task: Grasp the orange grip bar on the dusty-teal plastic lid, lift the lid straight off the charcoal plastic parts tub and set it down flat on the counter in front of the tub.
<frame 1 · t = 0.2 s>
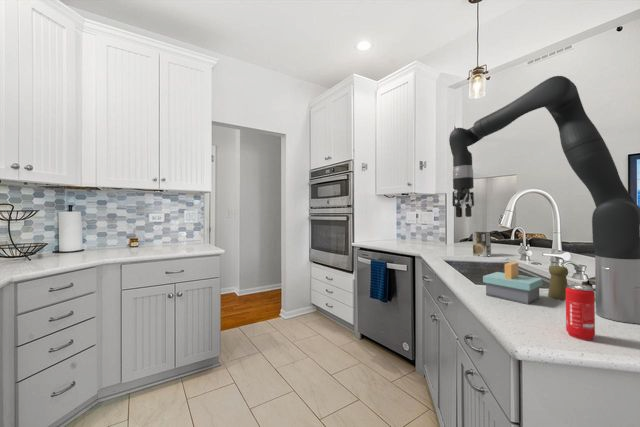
hand: (463, 216, 116), 28 cm above the countertop, tool pointing down, fingers open, 8 cm apart
tub: (512, 296, 100), on the countertop
coffee box: (481, 256, 190), on the countertop
lid: (511, 280, 100), point 6 cm above the countertop, touching tub
beverage can: (580, 337, 69), on the countertop
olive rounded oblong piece: (558, 297, 99), on the countertop
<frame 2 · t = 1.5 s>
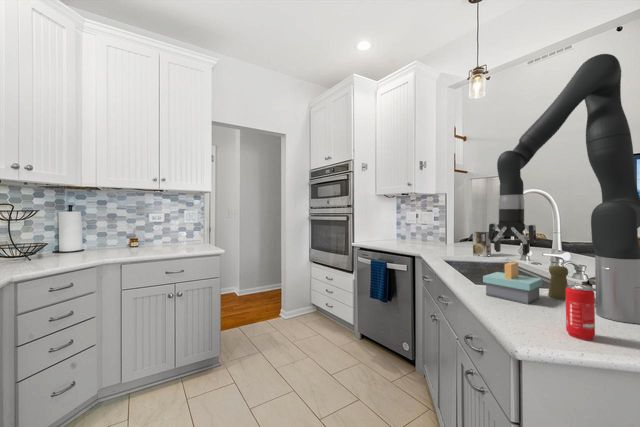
hand: (511, 253, 100), 16 cm above the countertop, tool pointing down, fingers open, 8 cm apart
nothing on the countertop moved.
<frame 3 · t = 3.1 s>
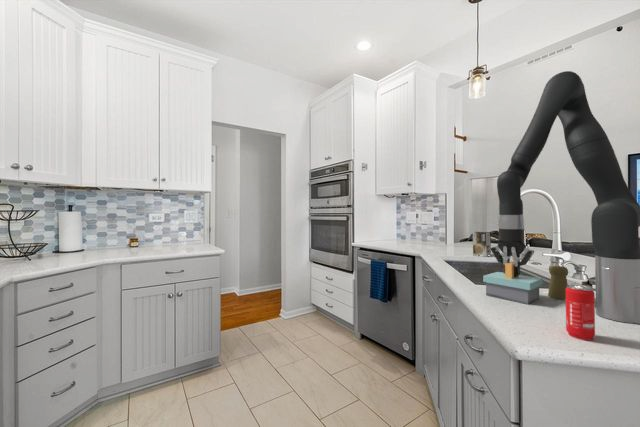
hand: (511, 275, 100), 8 cm above the countertop, tool pointing down, fingers closed on lid
lid: (512, 279, 100), point 6 cm above the countertop, touching gripper
everything else where it was.
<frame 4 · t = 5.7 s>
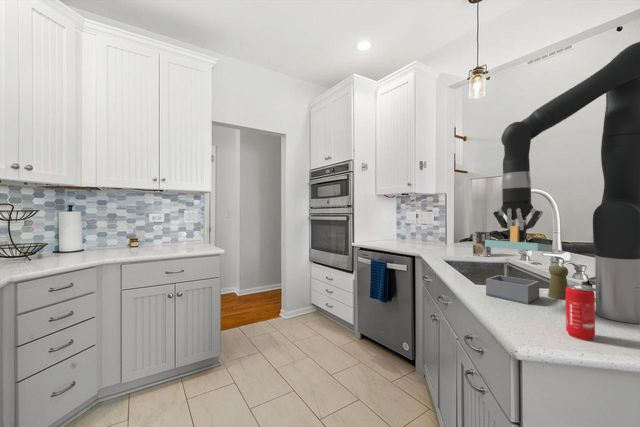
hand: (517, 241, 90), 21 cm above the countertop, tool pointing down, fingers closed on lid
lid: (517, 245, 90), point 20 cm above the countertop, tilted 7°, touching gripper
everything else where it was.
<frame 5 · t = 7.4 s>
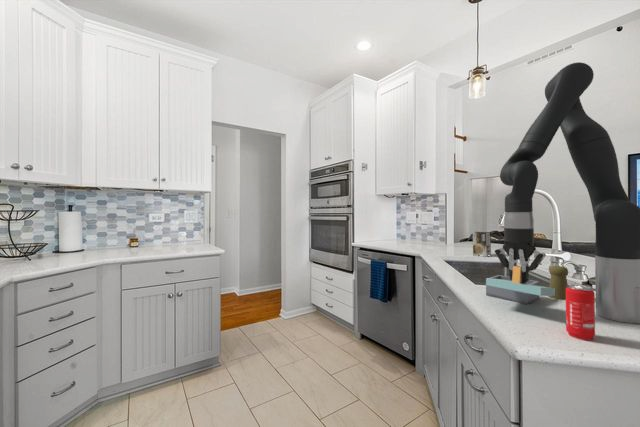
hand: (519, 282, 87), 9 cm above the countertop, tool pointing down, fingers closed on lid
lid: (519, 286, 87), point 7 cm above the countertop, tilted 11°, touching gripper
everything else where it was.
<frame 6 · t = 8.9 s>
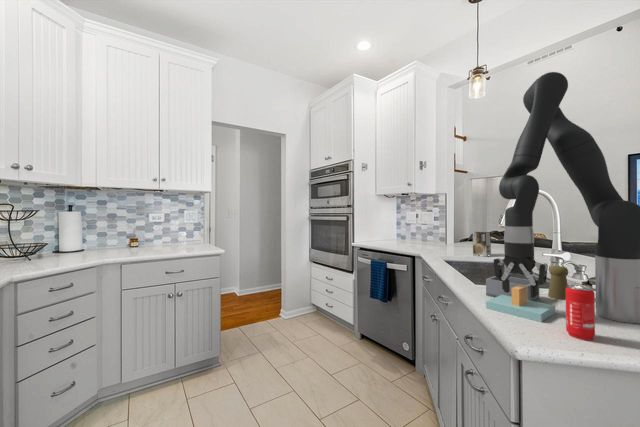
hand: (519, 294, 87), 5 cm above the countertop, tool pointing down, fingers open, 6 cm apart
lid: (519, 306, 87), point 1 cm above the countertop
everything else where it was.
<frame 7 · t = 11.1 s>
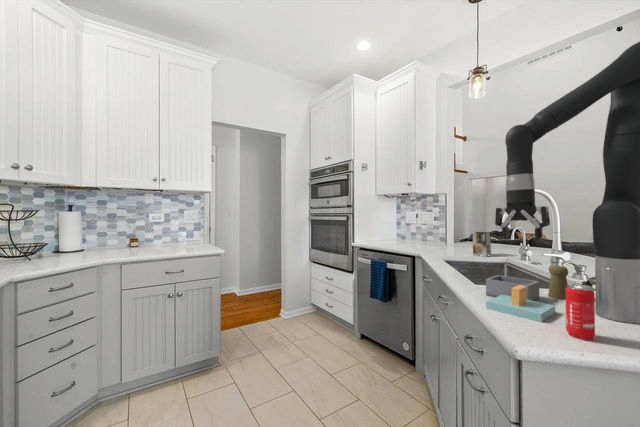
hand: (521, 239, 90), 22 cm above the countertop, tool pointing down, fingers open, 8 cm apart
nothing on the countertop moved.
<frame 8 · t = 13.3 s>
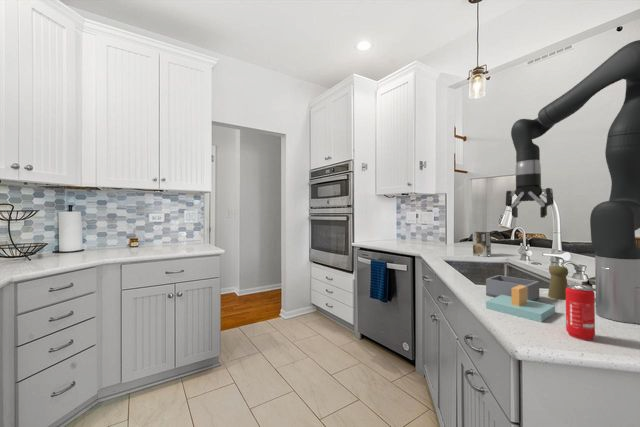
hand: (528, 217, 104), 28 cm above the countertop, tool pointing down, fingers open, 8 cm apart
nothing on the countertop moved.
at the end: lid touching countertop; lid inside the target area (0.3 cm from its centre), point 1.2 cm above the countertop; lid tilted 0° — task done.
